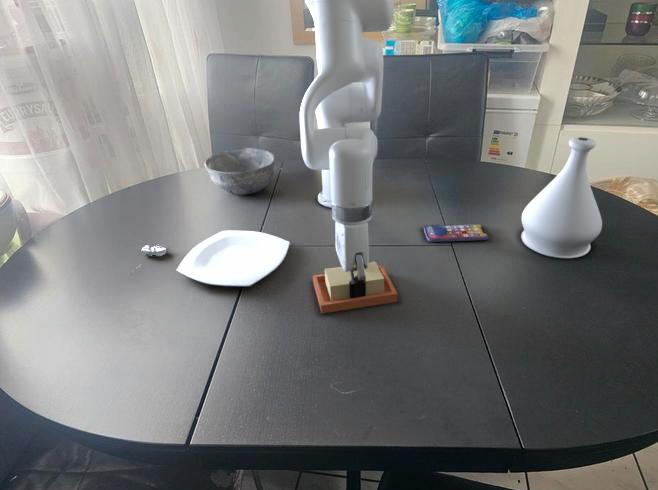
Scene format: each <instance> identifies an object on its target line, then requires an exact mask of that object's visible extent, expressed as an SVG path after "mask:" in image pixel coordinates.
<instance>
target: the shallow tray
mask: <svg viewBox="0 0 658 490" xmlns="http://www.w3.org/2000/svg"><path fill="white" fill-rule="evenodd" d="M378 267H379V269H380V271H381V273H382V275H383V277H384V293H383V294H377V295H370V296H364V297H357V298H351V299H344V300H338V301H330V297H329V294H328V291H327V287H326V284H325V273H319V274H314V275H312V284H313V287H314V291H315V294H316V298H317V302H318V306H319V309H320V314H328V313H334V312H340V311H341V312H342V311H347V310H354V309H360V308H366V307H372V306H373V307H374V306H379V305H384V304H391V303H392V304H393V303H398V292H397V290H396V288H395V286H394V284H393V283H392V280H391V279H390V277H389V274H388V273H387V270H386V268H385V266H384V265H378Z"/></svg>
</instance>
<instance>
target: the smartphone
mask: <svg viewBox="0 0 658 490" xmlns="http://www.w3.org/2000/svg"><path fill="white" fill-rule="evenodd" d="M423 232H424V235H425V238H426V240H427V242H430V243H436V242H437V243H439V242H441V243H442V242H465V241H466V242H468V241H486V240H488V239H489V234H488V233H487V230H486V229H485V227H484V226H483V224H481V223H463V224H462V223H460V224H459V223H458V224H457V223H456V224H435V225H433V224H432V225H425V226H423Z"/></svg>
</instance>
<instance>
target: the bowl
mask: <svg viewBox="0 0 658 490" xmlns="http://www.w3.org/2000/svg"><path fill="white" fill-rule="evenodd" d="M275 162H276V157H275V155H274V154H273V153H272V152H270V151H268V150H265V149H263V148H255V147H238V148H234V149H233V148H232V149H230V150H227V151H220V152H217V153H215V154H212V155H211V156H209V157H208V158H206V159H205V161H204V166H203V167H204V168H205V169H206V171H207V172H208V174H209V177H210V181H211V182H212V183H213V184H214V185H216V186H217V187H218V188H220V189H222V190H223V191H224V192H227V193H230V194H233V195H251V194H255V193H258V192H260V191H262V190H263V189H266V188H267V187H268V186H269V184H270V183H271V182H272V181H273V180H272V179H273V178H274V176H275V170H274V169H275V168H274V166H275Z"/></svg>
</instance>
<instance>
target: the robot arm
mask: <svg viewBox="0 0 658 490" xmlns="http://www.w3.org/2000/svg"><path fill="white" fill-rule="evenodd" d="M304 2H305V4H306V5H307V8H308V10H309V12H310V14H311V16H312V19H313V23H314V31H315V32H314V33H315V48H316V49H315V50H316V64H317V72H318V74H317V76H316V77H315V78H314V80H313V81H312V82H311V84H310V85H309V87H308V88H307V90H306V92H305V93H304V95H303V98H302V102H301V105H300V111H299V132H300V148H301V155H302V160H303V162H304V164H305V166H306V167H307V168H308V169H309V170H314V171H321V185H322V190H321V191H320V192H319V194H318V195H317V201H318V203H319V204H320V205H322V206H324V207H327V208H331V216H332V220H333V221H334V223H335V224H334V225H335V227H334V228H335V231H334V232H335V238H334V239H335V245H334V246H335V253H336V255H337V258H338V261H339V263H340V267H341V266H342V268H343V270H344V271H345V272H348V271H350V277H351V281H349V287H350V298H357V297H364V296H366V275H365V269H367V268H368V266H369V262H370V241H369V239H370V238H369V224H368V222H370V220H371V219H372V218H373V164H374V161H375V159H376V158H377V156H378V150H379V144H378V137H377V135H376V134H375V132H374V131H373V130H372V129H371V128H370V127H365V126H352V127H351V126H349V127H347V126H346V124H354V123H355V124H357V123H370V122H374V121H375V122H376V120H378V119H379V118H380V115H381V112H382V106H383V105H382V103H383V86H384V85H383V84H384V63H385V62H384V51H383V48H382V45H381V43H380V42H379V41H378V40H376V39H374V38H364V33H378V32H386V31H388V30H389V29H390V28H391V26H392V24H393V21H394V17H395V0H304ZM315 116H316V118H315ZM315 119H316V122H317V128H316V127H315ZM354 265H356V267H353V266H354ZM354 271H357V276H355V277H354Z"/></svg>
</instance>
